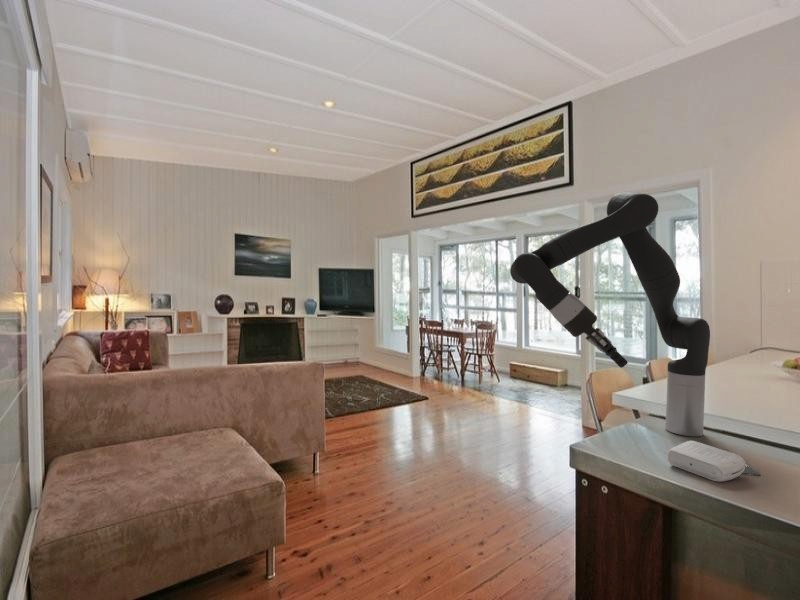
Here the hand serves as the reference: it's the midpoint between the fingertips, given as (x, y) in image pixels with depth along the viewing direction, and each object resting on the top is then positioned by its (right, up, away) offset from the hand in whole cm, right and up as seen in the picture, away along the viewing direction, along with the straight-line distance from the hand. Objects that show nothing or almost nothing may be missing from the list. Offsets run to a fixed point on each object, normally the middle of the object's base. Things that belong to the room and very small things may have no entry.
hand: (624, 364), depth 109 cm
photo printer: (+11, -20, -4) cm, 23 cm away
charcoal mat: (+21, -23, -2) cm, 31 cm away
